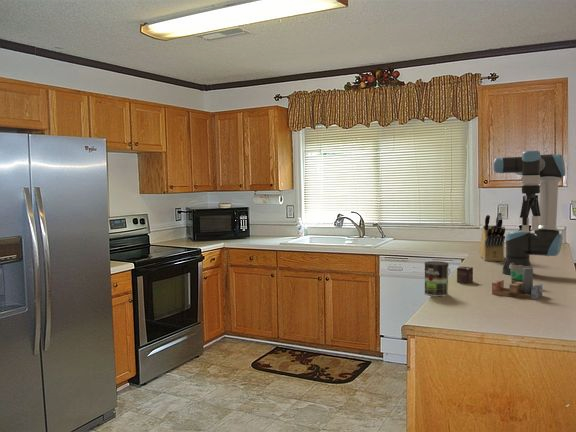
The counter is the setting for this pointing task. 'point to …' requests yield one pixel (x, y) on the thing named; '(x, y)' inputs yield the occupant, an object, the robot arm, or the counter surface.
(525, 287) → the plug
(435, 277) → the coffee can
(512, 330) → the counter surface
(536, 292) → the socket block
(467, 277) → the box
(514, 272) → the food container
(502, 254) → the knife block
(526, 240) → the robot arm
